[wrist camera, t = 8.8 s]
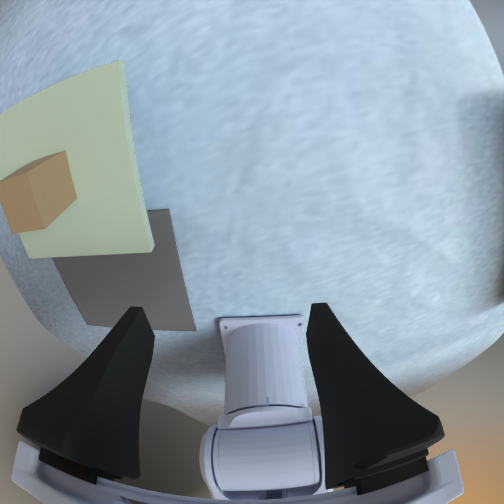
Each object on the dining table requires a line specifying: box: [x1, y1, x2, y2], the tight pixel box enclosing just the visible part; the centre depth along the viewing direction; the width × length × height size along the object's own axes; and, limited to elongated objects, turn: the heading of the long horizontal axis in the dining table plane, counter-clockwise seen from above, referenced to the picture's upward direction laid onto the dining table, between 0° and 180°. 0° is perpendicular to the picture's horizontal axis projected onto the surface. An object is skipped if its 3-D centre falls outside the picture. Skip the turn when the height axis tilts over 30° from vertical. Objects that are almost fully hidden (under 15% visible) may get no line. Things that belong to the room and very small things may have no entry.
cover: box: [0, 60, 155, 259], centre depth 11 cm, size 11×11×4 cm
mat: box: [52, 209, 196, 331], centre depth 22 cm, size 13×13×1 cm
